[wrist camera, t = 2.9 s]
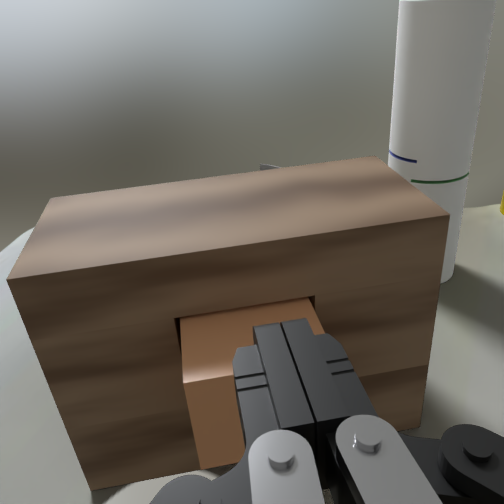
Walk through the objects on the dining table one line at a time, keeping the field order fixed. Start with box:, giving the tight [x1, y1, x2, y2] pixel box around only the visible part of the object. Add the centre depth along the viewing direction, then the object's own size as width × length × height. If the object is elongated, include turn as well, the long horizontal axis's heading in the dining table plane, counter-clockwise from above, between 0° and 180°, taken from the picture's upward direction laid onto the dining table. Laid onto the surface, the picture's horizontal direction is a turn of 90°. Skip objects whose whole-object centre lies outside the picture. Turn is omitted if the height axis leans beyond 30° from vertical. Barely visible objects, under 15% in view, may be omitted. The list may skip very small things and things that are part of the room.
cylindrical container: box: [388, 0, 496, 284], centre depth 43 cm, size 7×7×25 cm
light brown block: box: [180, 297, 325, 470], centre depth 26 cm, size 8×7×6 cm
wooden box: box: [6, 156, 450, 491], centre depth 31 cm, size 10×22×16 cm, turn 99°
